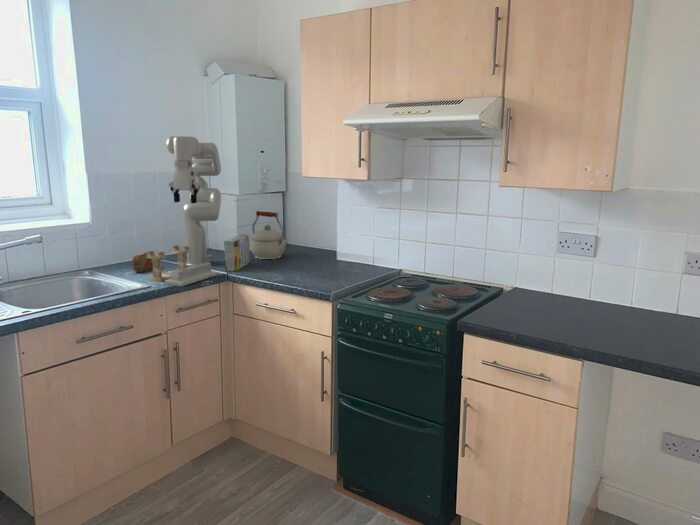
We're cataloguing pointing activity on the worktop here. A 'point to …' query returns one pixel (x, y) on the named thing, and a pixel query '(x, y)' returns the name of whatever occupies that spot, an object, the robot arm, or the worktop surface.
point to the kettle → (267, 240)
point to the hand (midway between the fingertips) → (185, 202)
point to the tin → (142, 262)
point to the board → (191, 279)
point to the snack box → (237, 252)
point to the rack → (156, 259)
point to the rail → (190, 272)
